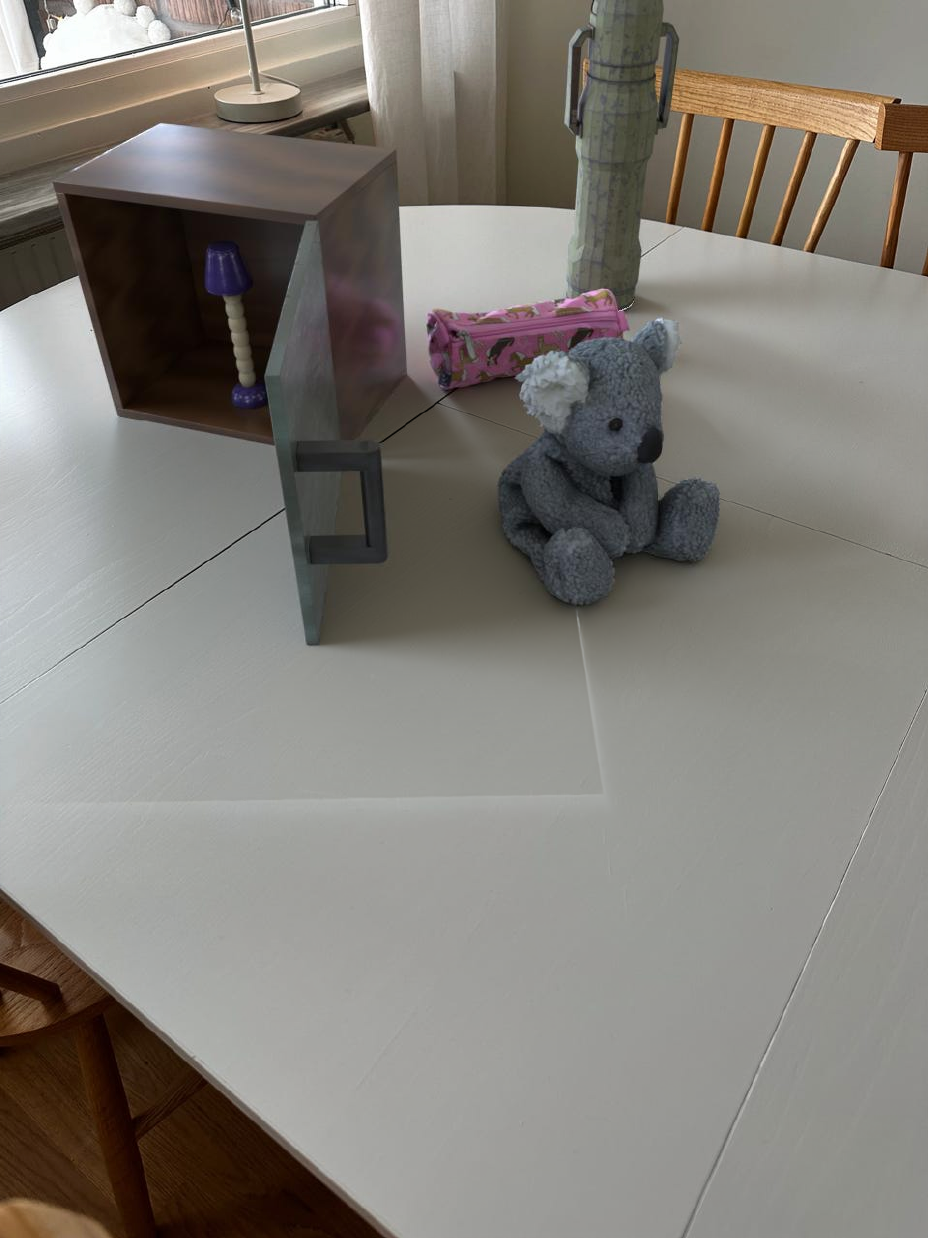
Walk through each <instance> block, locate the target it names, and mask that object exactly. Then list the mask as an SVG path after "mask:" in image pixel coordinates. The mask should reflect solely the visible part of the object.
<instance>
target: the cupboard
mask: <svg viewBox="0 0 928 1238" xmlns="http://www.w3.org/2000/svg"><path fill="white" fill-rule="evenodd" d="M397 156H398V155H397V149H396V148H392V147H383V146H382V147H380V146H372V145H364V144H354V143H347V142H345V143H344V142H335V141H327V140H316V139H308V138H299V137H291V136H290V137H289V136H283V135H282V136H281V135H272V134H263V133H254V132H245V131H236V130H227V129H219V128H218V129H217V128H209V127H201V126H200V127H199V126H191V125H190V126H189V125H180V124H172V123H163V122H161V123H160V122H159V123H158V124H156V125H155V126H153V127H151V128H149V129H147V130H145V131H143V132H142V133H139V134H137V135H135V136H134V137H132V138H130V139H128V140H126V141H124V142H122V143H120V144H119V145H117V146H115V147H113V148H111V149H110V150H107V151H106V152H104V153H102V154H100V155H98V156H96V157H95V158H92V159H91V160H89V161H87V162H85V163H83V164H82V165H79V166H78V167H76V168H74V169H72V170H70V171H69V172H66V173H65V174H63V175H61V176H59V177H57V178H55V179H54V180H52V181H51V182H52V186H53V189H54V192H55V196H56V200H57V203H58V207H59V211H60V215H61V218H62V222H63V225H64V229H65V232H66V236H67V240H68V243H69V246H70V251H71V254H72V258H73V261H74V264H75V268H76V271H77V275H78V279H79V282H80V286H81V289H82V293H83V297H84V301H85V305H86V308H87V311H88V315H89V319H90V322H91V326H92V329H93V330H92V331H93V333H94V336H95V340H96V345H97V347H98V352H99V355H100V358H101V362H102V366H103V369H104V372H105V376H106V380H107V384H108V387H109V390H110V395H111V399H112V401H113V405H114V408H115V413H116V416H118V417H123V418H127V419H133V420H138V421H144V422H150V423H156V424H161V425H167V426H172V427H177V428H180V429H181V428H182V429H185V430H186V429H187V430H192V431H197V432H202V433H206V434H212V435H216V436H222V437H228V438H232V439H238V440H242V441H246V442H247V441H248V442H254V443H259V444H263V445H267V446H273V447H275V441H274V434H273V428H272V422H271V415H270V409H269V403H267V404H266V405H264V406H262V407H259V408H255V409H243V408H239V407H237V406H235V405H234V404H233V403H232V400H231V395H232V391H233V389H234V387H235V386H236V385H237V384H238V383H239V382H240V380H239V370H238V369H237V366H236V360H237V358H236V357H235V354H234V344H233V342H232V339H231V332H232V330H231V329H230V327H229V322H228V320H229V316H228V314H227V312H226V301H225V300H224V298H223V296H217V295H213V294H211V293H210V292H208V291H207V290H206V287H205V268H206V253H207V248H208V247H209V245H210V244H212V243H214V242H217V241H225V240H226V241H232V242H235V243H236V244H237V245H238V246H239V248H240V250H241V252H242V255H243V257H244V259H245V261H246V263H247V266H248V268H249V270H250V272H251V275H252V277H253V286H252V287H251V289H250V290H248V291H247V292H245V293H242V297H241V302H242V303H243V306H244V316H245V318H246V322H247V327H246V330H247V331H248V333H249V344H250V346H251V350H252V354H251V357H252V359H253V362H254V369H253V370H254V372H255V374H256V380H259V381H261V382H263V383H264V384H266V383H265V377H264V376H265V372H266V368H267V365H268V361H269V357H270V354H271V350H272V346H273V342H274V339H275V335H276V331H277V327H278V324H279V320H280V316H281V313H282V309H283V305H284V301H285V298H286V294H287V290H288V287H289V283H290V279H291V275H292V272H293V268H294V264H295V260H296V257H297V253H298V249H299V246H300V242H301V238H302V234H303V231H304V227H305V223H306V221H318V226H319V236H320V245H321V255H322V265H323V275H324V284H325V294H326V304H327V313H328V323H329V333H330V342H331V352H332V362H333V371H334V381H335V391H336V400H337V410H338V420H339V429H340V439H341V440H358V438H359V437H360V435H361V434H362V433H363V432H364V430H365V429H366V428H367V426H368V425H369V424H370V423H371V421H372V420H373V419H374V418H375V417H376V415H377V414H378V413H379V411H380V410H381V408H382V407H383V406H384V405H385V404H386V402H387V401H388V400H389V399H390V397H391V396H392V395H393V393H394V392H395V391H396V389H397V388H398V387H399V386H400V384H401V383H402V382H403V380H404V379H405V378H406V376H407V375H408V370H407V369H408V365H407V347H406V345H407V343H406V325H405V324H406V323H405V322H406V321H405V304H404V303H405V302H404V283H403V282H404V281H403V280H404V279H403V262H402V261H403V260H402V242H401V241H402V239H401V219H400V218H401V217H400V197H399V196H400V195H399V177H398V176H399V175H398V159H397V158H398V157H397Z"/></svg>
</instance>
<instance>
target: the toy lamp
mask: <svg viewBox="0 0 928 1238" xmlns="http://www.w3.org/2000/svg"><path fill="white" fill-rule="evenodd" d="M252 286H253V277H252V275H251V272H250V270H249V268H248V266H247V263H246V261H245V259H244V257H243V255H242V252H241V250H240V248H239V246H238V245H237V244H236V243H235V242H232V241H226V240H225V241H217V242H214V243H212V244H210V245H209V247H208V248H207V253H206V268H205V287H206V290H207V291H208V292H210V293H211V294H213V295H217V296H223V298H224V300H225V301H226V312H227V314H228V316H229V320H228V322H229V327H230V329H231V330H232V332H231V339H232V342H233V344H234V354H235V357H236V358H237V360H236V366H237V369H238V370H239V380H240V382H239V383H238V384H237V385H236V386H235V387H234V389H233V391H232V395H231V400H232V403H233V404H234V405H235V406H237V407H239V408H243V409H255V408H259V407H262V406H264V405H266V404H267V403H269V402H268V396H267V390H266V384H264V383H263V382H261V381H259V380H256V374H255V372H254V370H253V369H254V362H253V359H252V357H251V354H252V350H251V346H250V344H249V333H248V331H247V330H246V327H247V322H246V318H245V316H244V306H243V303H242V302H241V297H242V293H245V292H247V291H248V290H250V289H251V287H252Z"/></svg>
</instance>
